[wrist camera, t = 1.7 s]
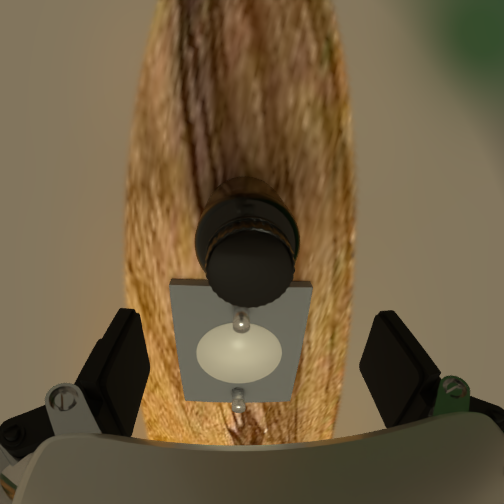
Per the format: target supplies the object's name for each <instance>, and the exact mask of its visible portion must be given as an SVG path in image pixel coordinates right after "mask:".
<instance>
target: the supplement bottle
mask: <svg viewBox="0 0 504 504" xmlns="http://www.w3.org/2000/svg"><path fill="white" fill-rule="evenodd" d="M299 249H300V234H299V229H298V226H297V223H296V221H295V219H294V217H293V215H292V214H291V212H290V211H289V209H288V208H287V207H286V205H285V204H284V202H283V201H282V200H281V198H280V197H279V196H278V194H277V193H276V192H275V191H274V190H273V189H272V188H271V187H270V186H269V185H268V184H267V183H265V182H263V181H261V180H259V179H256V178H252V177H237V178H233V179H230V180H228V181H226V182H224V183H222V184H221V185H220V186H219V187H217V189H216V190H215V191H214V192H213V193H212V195H211V196H210V198H209V200H208V202H207V205H206V207H205V209H204V211H203V214H202V216H201V218H200V221H199V223H198V226H197V230H196V234H195V251H196V256H197V259H198V261H199V264H200V266H201V267H202V269H203V270H204V272H205V273H206V278H207V279H208V284H209V285H210V286H211V287H212V290H213V292H215V293H216V294H217V296H218V297H219V298H222V299H223V300H224V301H225V302H228V303H230V304H231V305H234V306H238V307H246V308H252V307H255V308H257V307H260V306H265V305H267V304H268V303H272V302H274V301H275V300H276V299H278V298H280V297H281V295H282V294H284V293H285V292H286V289H287V288H288V287H289V286H290V283H291V281H292V280H293V274H294V272H295V267H294V265H295V262H296V260H297V257H298V254H299Z"/></svg>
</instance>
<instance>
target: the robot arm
mask: <svg viewBox="0 0 504 504" xmlns="http://www.w3.org/2000/svg"><path fill="white" fill-rule="evenodd" d="M359 368H360V372H361V374H362V376H363V378H364V380H365V382H366V384H367V386H368V389H369V391H370V393H371V395H372V397H373V399H374V402H375V404H376V406H377V408H378V411H379V413H380V415H381V417H382V419H383V422H384V424H385V426H386V428H387V429H382V430H379V431H374V432H369V433H364V434H358V435H353V436H347V437H341V438H335V439H328V440H320V441H312V442H303V443H291V444H277V445H252V446H223V445H199V444H185V443H174V442H164V441H155V440H147V439H140V438H133V437H131V435H132V432H133V428H134V424H135V421H136V417H137V414H138V410H139V407H140V403H141V400H142V396H143V393H144V389H145V386H146V383H147V379H148V376H149V373H150V362H149V358H148V353H147V349H146V344H145V339H144V334H143V329H142V323H141V318H140V314H139V313H136V312H135V310H134V309H126V308H120V309H119V311H118V312H117V314H116V315H115V317H114V319H113V320H112V322H111V324H110V326H109V327H108V329H107V331H106V333H105V334H104V336H103V338H102V339H99V340H98V341H97V343H96V345H95V347H94V348H93V350H92V352H91V354H90V356H89V357H88V359H87V361H86V363H85V365H84V366H83V368H82V370H81V372H80V374H79V376H78V378H77V380H76V382H75V384H70V383H61V384H58V385H56V386H53V387H52V388H51V389H50V390H49V391H48V393H47V394H46V397H45V405H44V406H41V407H39V408H36V409H34V410H31V411H29V412H26V413H23V414H21V415H18V416H16V417H13V418H10V419H8V420H6V421H4V422H3V423H2V424H1V426H0V504H504V410H503V409H502V408H501V407H499V406H497V405H494V404H491V403H488V402H486V401H483V400H480V399H477V398H475V397H472V396H470V388H469V386H468V384H467V383H466V382H465V381H464V380H463V379H461V378H459V377H457V376H451V375H450V376H446V377H444V378H443V379H441V378H440V377H439V375H440V374H441V372H440V370H439V369H438V368H437V366H436V365H435V363H434V362H433V361H432V359H431V358H430V357H429V355H428V354H427V353H426V351H425V350H424V349H423V347H422V346H421V345H420V343H419V342H418V341H417V339H416V338H415V337H414V336H413V334H412V333H411V332H410V330H409V329H408V328H407V327H406V325H405V324H404V323H403V321H402V320H401V319H400V318H399V317H398V315H397V314H396V313H395V312H394V311H392V310H389V311H380V312H379V314H378V315H376V316H375V318H374V321H373V325H372V328H371V331H370V334H369V337H368V340H367V343H366V346H365V349H364V352H363V355H362V358H361V361H360V364H359Z"/></svg>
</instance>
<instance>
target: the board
mask: <svg viewBox="0 0 504 504" xmlns="http://www.w3.org/2000/svg"><path fill="white" fill-rule="evenodd" d="M169 288H170V298H171V307H172V316H173V324H174V332H175V340H176V347H177V354H178V360H179V367H180V373H181V379H182V385H183V391H184V396H185V400H186V401H202V402H232V411H233V412H236V413H242V412H244V411H245V402H281V401H290V399H291V394H292V390H293V386H294V381H295V377H296V372H297V368H298V363H299V358H300V354H301V349H302V344H303V339H304V334H305V328H306V323H307V318H308V312H309V307H310V301H311V295H312V289H313V287H312V285H311V283H310V282H291V283H290V286H289V287H288V288H287V289H286V292H285V293H284V294H282V295H281V297H280V298H278V299H276V300H275V301H274V302H272V303H268V304H267V305H265V306H260V307H257V308H255V307H252V308H246V307H238V306H234V305H231V304H230V303H228V302H225V301H224V300H223V299H222V298H219V297H218V296H217V294H216V293H215V292H213V290H212V287H211V286H210V285H209V284H208V280H188V279H171V281H170V284H169Z"/></svg>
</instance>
